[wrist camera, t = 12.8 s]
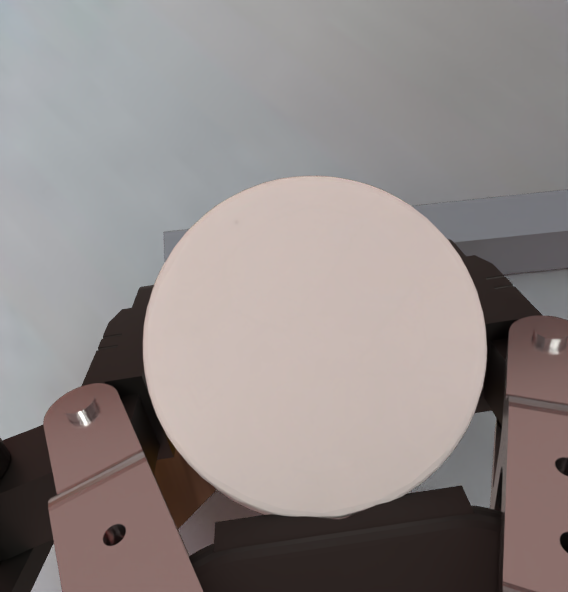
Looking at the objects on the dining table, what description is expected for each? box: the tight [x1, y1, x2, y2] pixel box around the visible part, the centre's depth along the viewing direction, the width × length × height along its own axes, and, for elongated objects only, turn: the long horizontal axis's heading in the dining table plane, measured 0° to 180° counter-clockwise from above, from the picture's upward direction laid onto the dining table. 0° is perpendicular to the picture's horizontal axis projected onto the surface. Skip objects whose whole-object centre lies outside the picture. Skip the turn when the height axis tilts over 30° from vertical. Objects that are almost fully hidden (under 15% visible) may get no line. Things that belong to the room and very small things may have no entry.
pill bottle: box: [143, 176, 487, 519], centre depth 12 cm, size 6×6×11 cm
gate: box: [164, 189, 568, 274], centre depth 16 cm, size 2×21×5 cm, turn 95°
